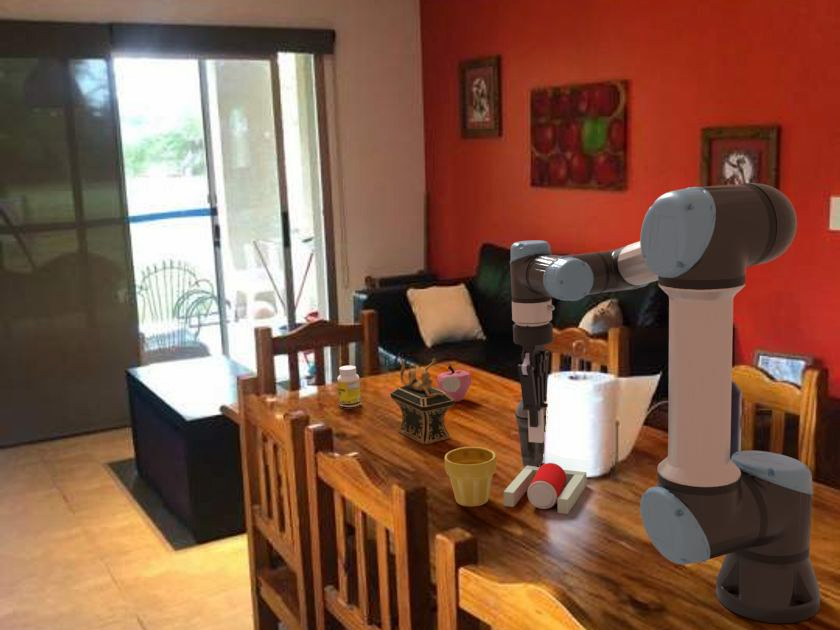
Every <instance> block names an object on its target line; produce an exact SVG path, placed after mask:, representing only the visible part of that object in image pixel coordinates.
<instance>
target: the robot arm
mask: <svg viewBox="0 0 840 630" xmlns="http://www.w3.org/2000/svg"><path fill="white" fill-rule="evenodd" d="M797 219H798V218H797V213H796V210H795V208H794V205H793V204H792V202H791V200H790V199H789V197H787V195H785V194H784V193H783V192H782V191H780V190H778V189H777V188H775V187H774V186H771V185H768V184H764V183H758V182H746V183H738V184H726V185H711V186H708V185H707V186H693V187H690V186H689V187H686V188H682V189H677V190H676V189H675V190H672V191H668V192H666V193H663V194H662V195H660V196H658V198H657V199H656V200H654V202H653V204H652V205H651V206H650V207H649V208H648V210H647V211H646V213H645V215H644V218H643V222H642V225H641V230H640V237H639V241H636V242H633V243H630V244H628V245H625V246H622V247H619V248H616V249H611V250H604V251H598V252H597V251H595V252H585V253H577V254H576V253H575V254H567V255H565V254H564V255H555V254H552V250H551V245H550V243H549V242H548V241H546V240H539V239H538V240H534V239H533V240H531V239H530V240H521V241H515V242H513V244H511V246H510V261H509V265H510V267H509V268H510V269H509V271H510V285H511V286H510V287H511V297H512V298H511V314H512V315H511V316H512V317H511V320H512V321H513V322H514V324H513V325H512V335H513V336H512V337H513V338H512V339H513V340H512V341H513V342H514V344H515V345H519V346H521V347H522V351H521V352H522V353H520V361H521V363H522V364H518V365H517V372H518V375H519V381H520V390H521V396H522V397H521V398H522V399H523V410H528V435H529V442H536V443H543V442H544V414H543V408H542V407H545V408H548V406H549V403H546V402H547V401H548V397H547V396H548V375H549V374H548V372H549V371H548V370H549V357H550V352H549V351H548V350H546V349H545V346H546V345H549V344H551V343H552V342H553V341H554V329H553V327H554V325H553V323H552V322H551V321H552V320H553V311H555V309H556V308H555V306H554V305H553V304H552V300H553V299H557V300H560V301H565V302H566V301H571V302H576V301H580V300H582V299H584V298H585V297H586V296H591V295H597V294H602V293H609V292H618V291H633V290H637V289H640V288H643V287H644V288H645V287H646V286H648V285H649V284H650V283H653V282H656V281H657V285H658V287H659V288H660V289H661V290H662V291H663V292H664V293H665V294H666V295H667V296H668V301H669V302H668V304H669V305H668V413H667V414H668V417H667V419H668V420H667V421H668V428H667V429H668V431H667V433H668V435H667V436H668V437H667V438H668V443H667V445H668V446H667V449H668V450H667V452H668V453H667V456H666V457H665V458H664V459H663V460H662V461H661V462H659V463H658V465H657V478H656V481H657V484H656V485H655V486H650V487H649V488H648V489H646V490H645V492H644V493H643V494H642V495H641V499H640V506H639V507H640V518H641V522H642V525H643V527H644V531H645V532H646V534H647V537H648V538H649V539H650V542H651V543H652V544H653V546H654V548H655V549H656V550H657V551H658V553H660V554H661V555H662V556H663V557H664V558H665V559H666V560H668V561H669V562H671V563H674V564H677V565H680V566H681V565H682V566H684V565H691V564H695V563H706V562H708V560H713V559H715V558H719V557H722V556H724V558H723V561H722V563H721V567H720V569H719V571H718V574H717V576H716V583H715V587H716V589H715V595H716V597H717V599H718V601H719V602H720V603H721V604H722V605H723V606H724V607H725V608H726V609H728V610H730V611H731V612H733V613H735V614H737V615H739V616H741V617H744V618H747V619H750V620H754V621H757V622H764V623H771V624H794V623H799V622H804V621H807V620H809V619H811V618H813V617H814V616H816V615H817V613H819V611H820V607H821V590H820V586H819V584H818V579H817V577H816V574H815V570H814V567H813V565H812V562H811V561H812V560H811V557H810V549H811V547H810V546H811V531H812V510H813V509H812V508H813V506H812V505H813V495H814V490H813V476H812V471H811V470H810V469H809V467H808V466H807V465H806V463H803V462H802V461H800V460H798V459H796V458H793V457H790V456H787V455H784V454H780V453H776V452H771V451H766V450H765V451H763V450H741V451H739V452H736V453H734V454H733V455H732V457H731V460H730V436H731V387H732V381H733V378H732V377H733V371H732V370H733V339H734V338H733V336H734V335H733V333H734V331H733V328H734V327H733V326H734V298H735V296H736V295H737V294H738V293H739V292H740V291H741V290H742V289H743V288H744V287H746V274H747V273H746V271H747V269H746V268H747V267H752V266H757V265H762V264H767V263H768V262H771V261H774V260H775V259H776V260H777V258H779V257H781V256H782V255H783V254H784V253H785V252H786V251H787V250H788V249H789V248H790V246H791V245H792V243H793V241H794V240H795V237H796V233H797V229H798V228H797V227H798V220H797ZM552 298H553V299H552ZM545 350H546V351H545ZM522 399H521V400H522Z"/></svg>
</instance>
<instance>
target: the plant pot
mask: <svg viewBox="0 0 840 630" xmlns="http://www.w3.org/2000/svg"><path fill="white" fill-rule="evenodd" d="M444 468H445V473H446V475H447V476H449V479H450V483H451V487H452V490H453V491H452V492H453V494H454V499H455V501H456V504H458V505H459V506H463V507H470V508H471V507H479V506H482V505H484V504H487V503H488V501H489V498H490V494H491V487H492V483H493V482H492V481H493V475H494V474H495V473H496V472H497V455H496V453H495V452H494V451H493V450H492V449H489V448H486V447H479V446H464V447H458V448H455V449H452V450H450V451H448V452H447V453H445V455H444Z"/></svg>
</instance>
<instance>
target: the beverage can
mask: <svg viewBox="0 0 840 630" xmlns="http://www.w3.org/2000/svg"><path fill="white" fill-rule="evenodd" d="M539 467H540V468H539V469H538V471H537V473H536V474H535V476H534V478H533V480H532V482H531V484H530V485H529V487H528V490H527V491H526V492H527V493H526V495H527V498H528V501H529V503H530V504H531V505H533V507H536V508H537V509H540V510H548V509H551V508H553V507H554V506H555V505H556V504H557V498H558V497H559V495H560V494H561V493H562V491H563V490H564V489H565V487H564V486H565V483H566V474H565V472H564V470H565V469H563V468H562V467H561V466H560V465H559V464H556V463H554V462H547V463H543V464H542V465H541V466H539Z"/></svg>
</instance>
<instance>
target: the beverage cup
mask: <svg viewBox="0 0 840 630" xmlns="http://www.w3.org/2000/svg"><path fill="white" fill-rule="evenodd" d="M542 408H543V414H544V432H545V433H546V430H545V426H547V423H546V410H547V411H548V409H547V408H548V407H547V408H545V407H542ZM514 415H515V420H516V423H517V426H518V427H517V429H518V437H519V444H520V452H521V453H520V456H521V460H522V465H523V466H524V467H526V466H535V467H537V466H539V465H541V464H542V461H543V462H544V457H543V454H544V455H545V444H544V442H543V443H536V442H529V435H528V410H523V399H521V400H520V401H519V402H518V404H517V406H516V408H515V414H514ZM542 465H543V464H542ZM542 465H541V466H542ZM539 467H540V466H539Z"/></svg>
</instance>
